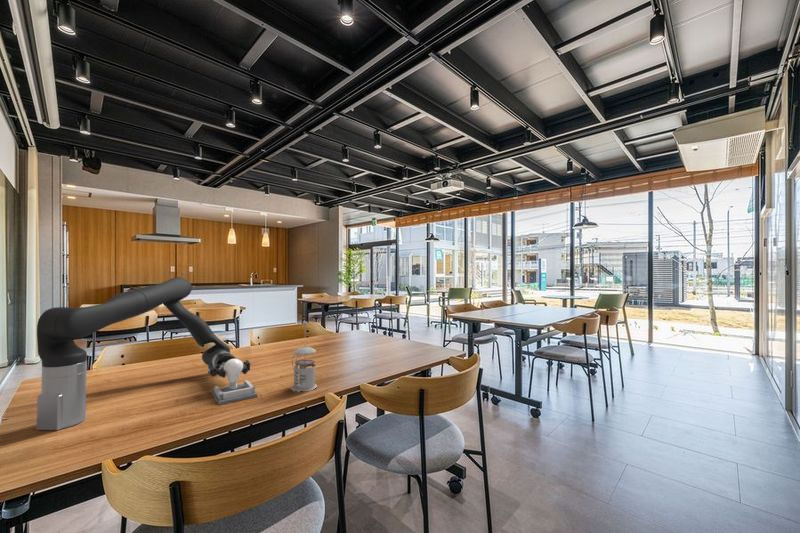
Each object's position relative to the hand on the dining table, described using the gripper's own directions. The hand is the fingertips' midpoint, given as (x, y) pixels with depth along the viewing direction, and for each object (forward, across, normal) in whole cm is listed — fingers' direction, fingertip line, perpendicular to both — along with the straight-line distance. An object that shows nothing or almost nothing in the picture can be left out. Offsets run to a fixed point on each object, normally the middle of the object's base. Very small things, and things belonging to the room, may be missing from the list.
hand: (235, 372), depth 120 cm
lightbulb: (-2, 0, +7) cm, 7 cm away
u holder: (-1, 0, +8) cm, 8 cm away
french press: (+6, +23, +8) cm, 25 cm away
